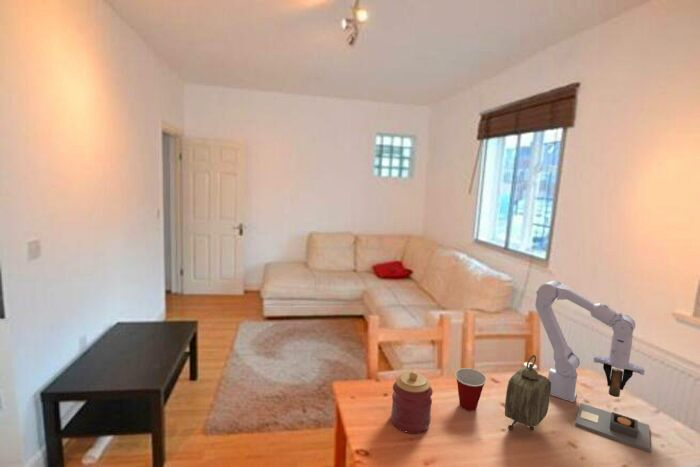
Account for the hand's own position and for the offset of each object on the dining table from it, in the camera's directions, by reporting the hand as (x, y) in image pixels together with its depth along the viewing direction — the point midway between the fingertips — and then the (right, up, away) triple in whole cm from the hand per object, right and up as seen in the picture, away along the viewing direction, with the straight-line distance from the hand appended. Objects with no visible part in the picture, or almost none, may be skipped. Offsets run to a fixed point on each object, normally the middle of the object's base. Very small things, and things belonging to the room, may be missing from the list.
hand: (615, 386), depth 135 cm
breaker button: (-3, -8, -9) cm, 13 cm away
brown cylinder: (0, -3, 0) cm, 3 cm away
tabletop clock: (-36, -10, -8) cm, 38 cm away
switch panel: (-6, -11, -7) cm, 14 cm away
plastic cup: (-51, -8, +2) cm, 52 cm away
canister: (-74, -9, -8) cm, 75 cm away
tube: (-29, -8, +5) cm, 31 cm away
